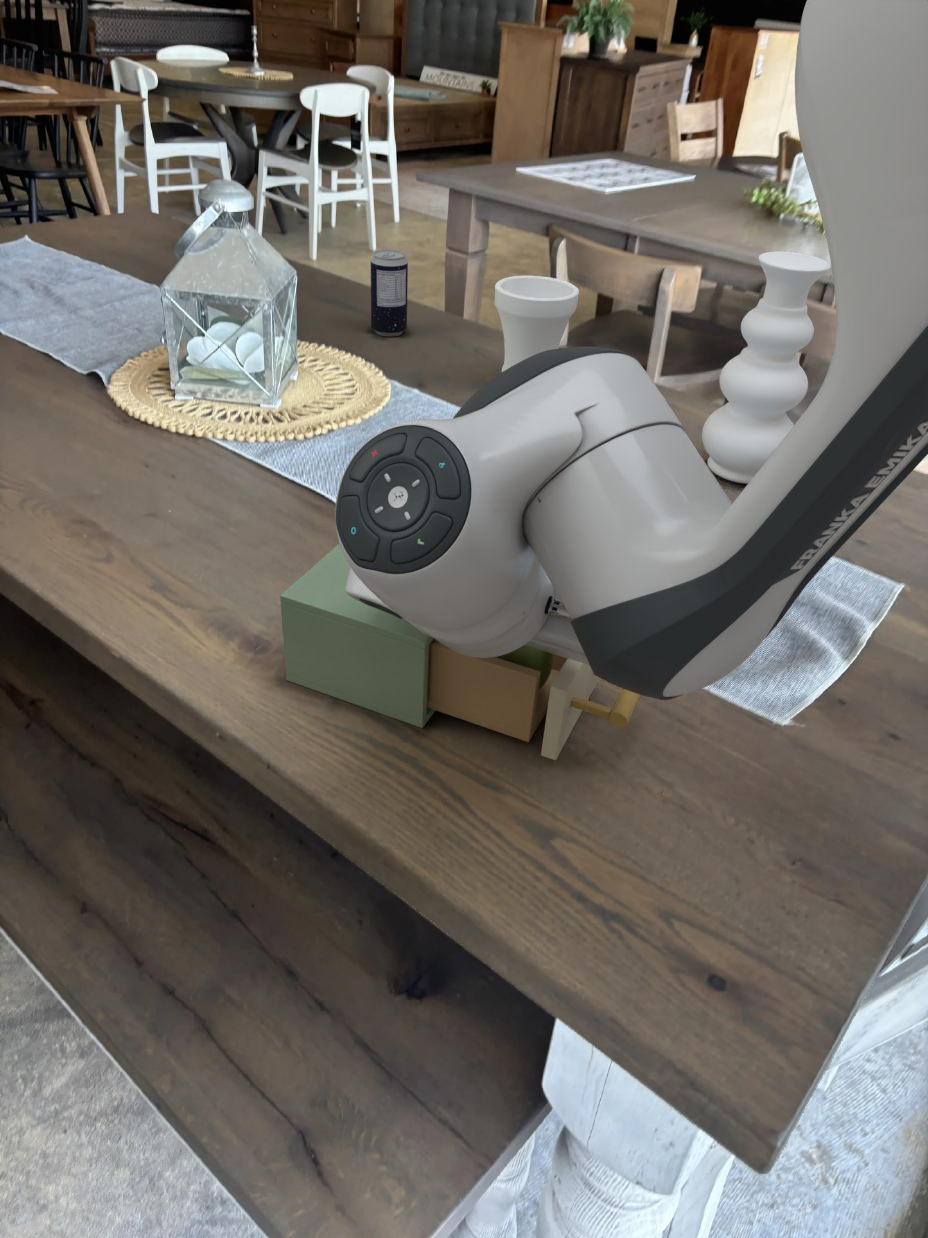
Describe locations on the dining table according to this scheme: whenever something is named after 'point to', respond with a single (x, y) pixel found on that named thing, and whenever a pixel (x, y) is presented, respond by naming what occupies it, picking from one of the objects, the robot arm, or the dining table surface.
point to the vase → (764, 370)
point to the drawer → (518, 695)
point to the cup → (533, 314)
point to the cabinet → (353, 646)
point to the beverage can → (389, 292)
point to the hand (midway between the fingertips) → (523, 628)
